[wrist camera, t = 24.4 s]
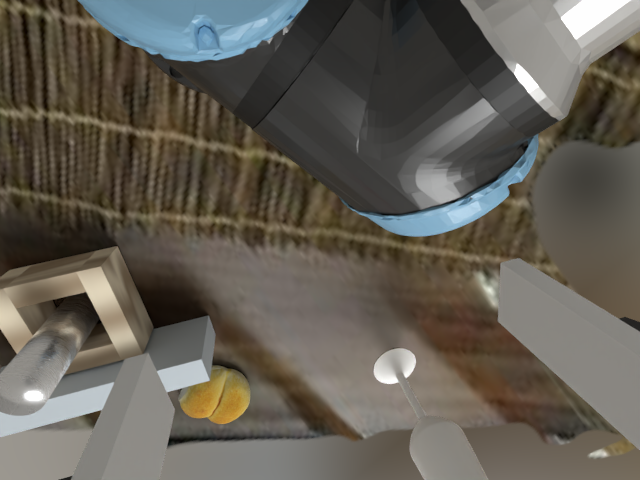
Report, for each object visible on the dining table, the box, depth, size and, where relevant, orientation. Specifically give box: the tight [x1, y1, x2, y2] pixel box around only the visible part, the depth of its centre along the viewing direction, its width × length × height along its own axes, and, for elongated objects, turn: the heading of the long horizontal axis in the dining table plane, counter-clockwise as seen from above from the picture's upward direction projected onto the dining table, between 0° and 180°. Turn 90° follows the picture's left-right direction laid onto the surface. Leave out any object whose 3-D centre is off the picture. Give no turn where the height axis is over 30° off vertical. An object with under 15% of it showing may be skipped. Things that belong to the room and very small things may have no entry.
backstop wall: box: [0, 315, 216, 437], centre depth 40 cm, size 3×24×8 cm, turn 99°
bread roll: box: [178, 365, 250, 424], centre depth 47 cm, size 8×9×4 cm
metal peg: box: [0, 292, 100, 416], centre depth 34 cm, size 4×4×14 cm
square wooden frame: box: [0, 246, 153, 375], centre depth 38 cm, size 11×11×5 cm
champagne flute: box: [374, 348, 488, 480], centre depth 43 cm, size 7×7×24 cm
